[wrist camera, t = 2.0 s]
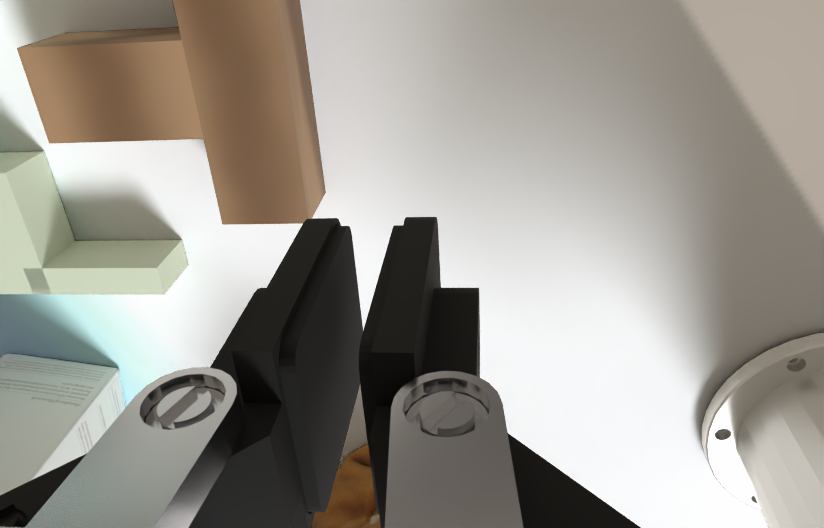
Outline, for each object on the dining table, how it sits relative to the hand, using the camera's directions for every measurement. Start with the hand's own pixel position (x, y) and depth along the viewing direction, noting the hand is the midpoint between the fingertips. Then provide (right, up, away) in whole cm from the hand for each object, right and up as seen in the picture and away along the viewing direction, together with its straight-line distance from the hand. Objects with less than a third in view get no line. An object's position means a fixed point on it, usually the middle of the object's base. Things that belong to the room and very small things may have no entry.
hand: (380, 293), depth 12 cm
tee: (-10, +9, +18) cm, 22 cm away
